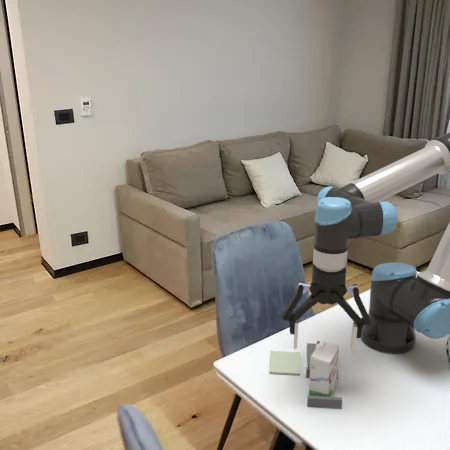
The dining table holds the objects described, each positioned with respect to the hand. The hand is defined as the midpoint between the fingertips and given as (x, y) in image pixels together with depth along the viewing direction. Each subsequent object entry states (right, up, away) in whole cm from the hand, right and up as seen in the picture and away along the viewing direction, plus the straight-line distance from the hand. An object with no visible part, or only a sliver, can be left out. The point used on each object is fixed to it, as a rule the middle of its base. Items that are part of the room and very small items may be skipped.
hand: (323, 347), depth 124 cm
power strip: (+1, -9, +11) cm, 15 cm away
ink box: (+1, -12, +4) cm, 13 cm away
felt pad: (-8, -8, +16) cm, 19 cm away
